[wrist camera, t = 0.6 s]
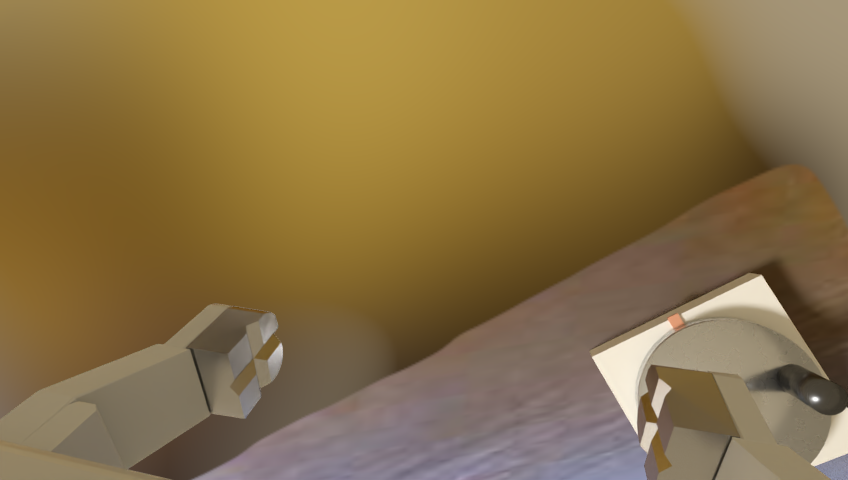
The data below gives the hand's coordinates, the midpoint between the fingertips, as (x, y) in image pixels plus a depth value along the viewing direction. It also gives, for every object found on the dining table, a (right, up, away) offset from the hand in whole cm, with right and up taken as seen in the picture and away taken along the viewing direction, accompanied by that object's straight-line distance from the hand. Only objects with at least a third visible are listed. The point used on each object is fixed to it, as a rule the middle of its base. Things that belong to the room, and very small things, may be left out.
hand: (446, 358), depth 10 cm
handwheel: (+32, -15, +41) cm, 54 cm away
